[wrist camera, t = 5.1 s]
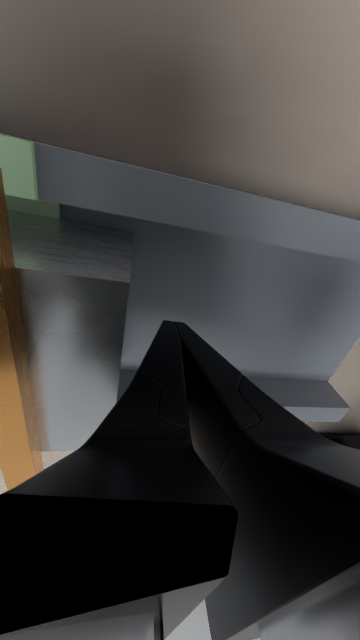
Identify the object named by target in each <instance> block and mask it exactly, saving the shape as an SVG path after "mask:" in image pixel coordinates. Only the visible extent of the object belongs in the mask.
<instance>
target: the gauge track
mask: <svg viewBox="0 0 360 640" xmlns="http://www.w3.org/2000/svg"><path fill="white" fill-rule="evenodd" d="M0 168H1V170H2V177H3V185H4V192H5V199H6V206H7V209H8V210H13V211H19V212H24V213H30V214H35V215H41V216H46V217H52V218H57V219H63V220H68V221H74V222H79V223H85V224H90V225H96V226H101V227H107V228H113V229H118V230H124V231H129V232H134V238H133V250H132V263H131V275H130V286H129V295H128V304H127V312H126V321H125V330H124V339H123V348H122V357H121V366H120V375H119V384H118V393H117V401H116V403H117V402H118V400H119V399H120V398H121V396H122V395H123V393H124V392H125V390H126V389H127V387H128V386H129V384H130V382H131V381H132V379H133V377H134V375H135V373H136V372H137V370H138V368H139V366H140V364H141V362H142V360H143V358H144V356H145V354H146V352H147V350H148V348H149V346H150V345H151V343H152V341H153V339H154V337H155V335H156V333H157V331H158V329H159V327H160V325H161V323H162V321H163V320H168V321H173V322H174V321H177V322H184V323H185V324H187V325H188V326H189V327H190V328H191V329H192V330H193V331H194V332H196V333H197V334H198V335H199V336H200V337H201V338H202V339H204V340H205V341H206V342H207V343H208V344H209V345H210V346H211V347H213V348H214V349H215V350H216V351H217V352H218V353H219V354H221V355H222V356H223V357H224V358H225V359H226V360H227V361H229V362H230V363H231V364H232V365H233V366H234V367H235V368H236V369H238V370H239V371H240V372H241V373H242V375H245V376H246V377H247V378H248V379H249V380H250V381H251V382H252V383H254V384H255V385H256V386H257V387H258V388H260V389H261V390H262V391H263V392H264V393H266V394H267V395H268V396H269V397H271V398H272V399H273V400H275V401H276V402H277V403H278V404H280V405H281V406H282V407H284V408H285V409H286V410H288V411H289V412H290V413H292V414H293V415H294V416H296V417H297V418H298V419H300V420H301V421H302V422H340V420H341V419H342V418H343V417H344V416H345V414H346V413H347V412H348V411H349V410H350V409H351V408H350V407H349V406H348V405H347V404H346V402H345V401H344V400H343V399H342V398H341V397H340V395H339V394H338V393H337V392H336V391H335V390H334V388H333V387H332V386H331V385H330V384H329V383H328V380H329V378H330V377H331V375H332V374H333V373H334V371H335V370H336V368H337V367H338V366H339V364H340V363H341V361H342V360H343V359H344V357H345V356H346V354H347V353H348V352H349V350H350V349H351V347H352V346H353V345H354V343H355V342H356V340H357V339H358V338H359V336H360V220H358V219H354V218H350V217H346V216H342V215H338V214H333V213H329V212H325V211H321V210H317V209H313V208H309V207H305V206H300V205H296V204H292V203H288V202H284V201H280V200H276V199H271V198H267V197H263V196H259V195H255V194H251V193H247V192H243V191H238V190H234V189H230V188H226V187H222V186H218V185H214V184H210V183H205V182H201V181H197V180H193V179H189V178H185V177H181V176H177V175H172V174H168V173H164V172H160V171H156V170H152V169H148V168H143V167H139V166H135V165H131V164H127V163H123V162H119V161H115V160H110V159H106V158H102V157H98V156H94V155H90V154H86V153H82V152H77V151H73V150H69V149H65V148H61V147H57V146H53V145H49V144H44V143H40V142H36V141H32V140H28V139H24V138H20V137H16V136H11V135H7V134H3V133H0Z"/></svg>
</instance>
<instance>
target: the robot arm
mask: <svg viewBox="0 0 360 640" xmlns="http://www.w3.org/2000/svg"><path fill="white" fill-rule="evenodd" d="M204 599H205V602H206V608H207V614H208V621H209V627H210V633H211V638H212V640H252V639H257V638H261V640H360V434H318V433H317V432H316V431H314V430H313V429H312V428H310V427H309V426H308V425H306V424H305V423H304V422H302V421H301V420H300V419H298V418H297V417H296V416H294V415H293V414H292V413H290V412H289V411H288V410H286V409H285V408H284V407H282V406H281V405H280V404H278V403H277V402H276V401H275V400H273V399H272V398H271V397H269V396H268V395H267V394H266V393H264V392H263V391H262V390H261V389H260V388H258V387H257V386H256V385H255V384H254V383H252V382H251V381H250V380H249V379H248V378H247V377H246V376H245V375H242V373H241V372H240V371H239V370H238V369H236V368H235V367H234V366H233V365H232V364H231V363H230V362H229V361H227V360H226V359H225V358H224V357H223V356H222V355H221V354H219V353H218V352H217V351H216V350H215V349H214V348H213V347H211V346H210V345H209V344H208V343H207V342H206V341H205V340H204V339H202V338H201V337H200V336H199V335H198V334H197V333H196V332H194V331H193V330H192V329H191V328H190V327H189V326H188V325H187V324H185V323H184V322H177V321H174V322H173V321H168V320H163V321H162V323H161V325H160V327H159V329H158V331H157V333H156V335H155V337H154V339H153V341H152V343H151V345H150V346H149V348H148V350H147V352H146V354H145V356H144V358H143V360H142V362H141V364H140V366H139V368H138V370H137V372H136V373H135V375H134V377H133V379H132V381H131V382H130V384H129V386H128V387H127V389H126V390H125V392H124V393H123V395H122V396H121V398H120V399H119V400H118V402H117V403H116V404H115V405H114V407H113V408H112V409H111V411H110V412H109V413H108V415H107V416H106V417H105V419H104V420H103V421H102V422H101V424H100V425H99V426H98V428H97V429H96V430H95V432H94V433H93V434H92V435H91V436H90V438H89V439H88V440H87V441H86V442H85V443H84V444H83V445H82V446H81V447H80V448H78V449H77V450H76V451H74V452H73V453H71V454H69V455H68V456H66V457H64V458H63V459H61V460H59V461H58V462H56V463H54V464H53V465H51V466H49V467H48V468H46V469H44V470H43V471H41V472H39V473H38V474H36V475H34V476H33V477H31V478H29V479H28V480H26V481H24V482H23V483H21V484H19V485H18V486H16V487H14V488H12V489H10V490H9V491H7V492H5V493H3V494H1V495H0V640H164V639H165V638H166V637H167V636H168V635H169V634H170V633H171V632H172V631H173V630H174V629H175V628H176V627H177V626H178V625H179V624H180V623H181V622H182V621H183V620H184V619H185V618H186V617H187V616H188V615H189V614H190V613H191V612H192V611H193V610H194V609H195V608H196V607H197V606H198V605H199V604H200V603H201V602H202V601H203V600H204Z"/></svg>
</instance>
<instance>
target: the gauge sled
mask: <svg viewBox="0 0 360 640" xmlns="http://www.w3.org/2000/svg"><path fill="white" fill-rule="evenodd" d="M133 238H134V232H129V231H124V230H118V229H113V228H107V227H101V226H96V225H90V224H85V223H79V222H74V221H68V220H63V219H57V218H52V217H46V216H41V215H35V214H30V213H24V212H19V211H13V210H8V209H7V206H6V199H5V192H4V185H3V177H2V170H1V168H0V466H1V469H2V473H3V476H4V479H5V482H6V486H7V489H8V491H9V490H10V489H12V488H14V487H16V486H18V485H19V484H21V483H23V482H24V481H26V480H28V479H29V478H31V477H33V476H34V475H36V474H38V473H39V472H41V471H43V463H42V456H41V451H76V450H77V449H78V448H80V447H81V446H82V445H83V444H84V443H85V442H86V441H87V440H88V439H89V438H90V436H91V435H92V434H93V433H94V432H95V430H96V429H97V428H98V426H99V425H100V424H101V422H102V421H103V420H104V419H105V417H106V416H107V415H108V413H109V412H110V411H111V409H112V408H113V407H114V405H115V404H116V401H117V393H118V384H119V375H120V366H121V357H122V348H123V339H124V330H125V321H126V312H127V304H128V295H129V286H130V275H131V263H132V250H133Z"/></svg>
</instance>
